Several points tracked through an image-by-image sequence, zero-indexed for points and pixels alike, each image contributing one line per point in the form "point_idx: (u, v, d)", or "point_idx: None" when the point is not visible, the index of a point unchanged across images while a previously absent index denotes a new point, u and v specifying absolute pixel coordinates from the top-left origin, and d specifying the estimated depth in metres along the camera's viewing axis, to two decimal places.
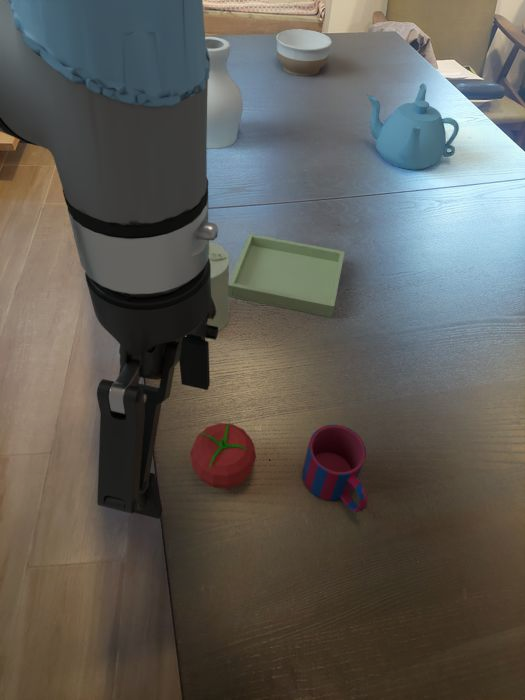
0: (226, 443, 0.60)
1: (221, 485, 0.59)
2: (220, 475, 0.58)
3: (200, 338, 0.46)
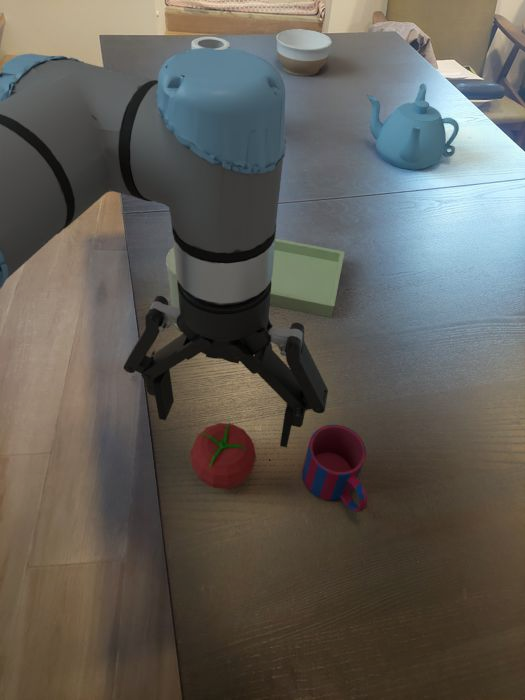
0: (226, 443, 0.60)
1: (221, 485, 0.59)
2: (220, 475, 0.58)
3: None
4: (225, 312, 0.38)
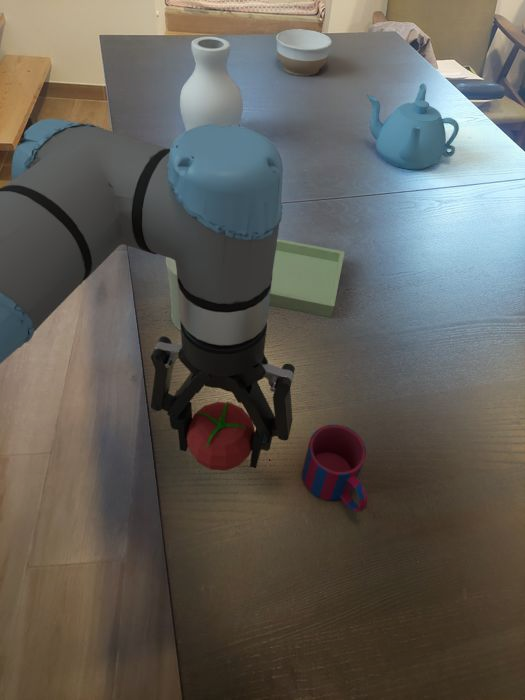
0: (224, 422, 0.57)
1: (219, 466, 0.56)
2: (217, 455, 0.55)
3: None
4: (224, 352, 0.42)
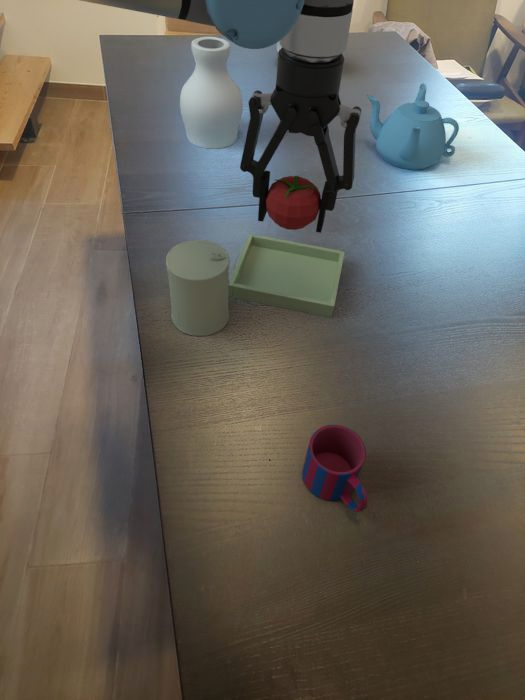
0: (297, 186, 0.70)
1: (293, 219, 0.69)
2: (293, 206, 0.68)
3: (264, 170, 0.70)
4: (315, 68, 0.55)
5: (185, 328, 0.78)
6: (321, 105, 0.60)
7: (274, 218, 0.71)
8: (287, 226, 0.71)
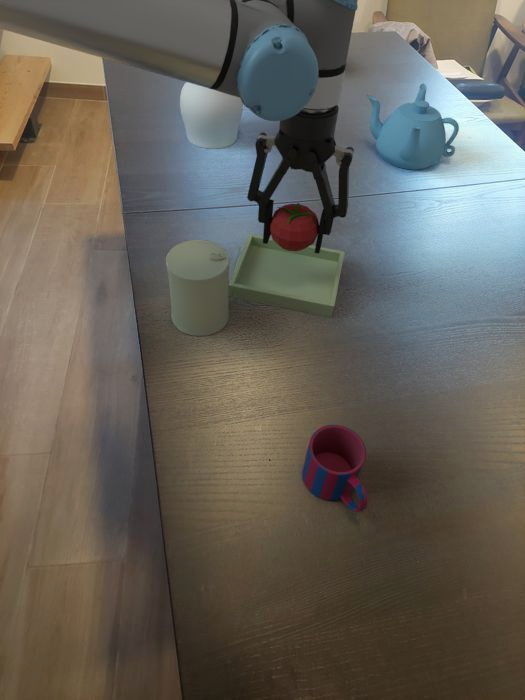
0: (298, 213, 0.79)
1: (295, 243, 0.78)
2: (295, 231, 0.77)
3: (269, 199, 0.79)
4: (313, 118, 0.64)
5: (185, 328, 0.78)
6: (319, 146, 0.69)
7: (277, 241, 0.80)
8: (289, 248, 0.80)
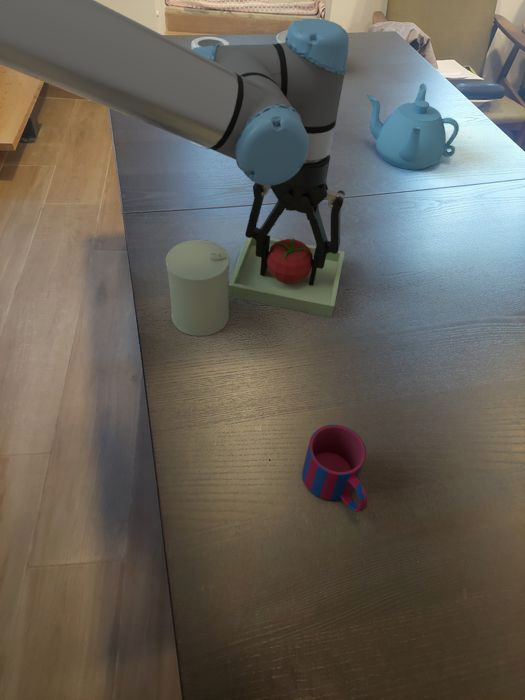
0: (293, 248, 0.84)
1: (290, 276, 0.84)
2: (290, 266, 0.82)
3: (266, 236, 0.84)
4: (306, 168, 0.69)
5: (185, 328, 0.78)
6: (312, 191, 0.74)
7: (274, 275, 0.85)
8: (285, 281, 0.85)
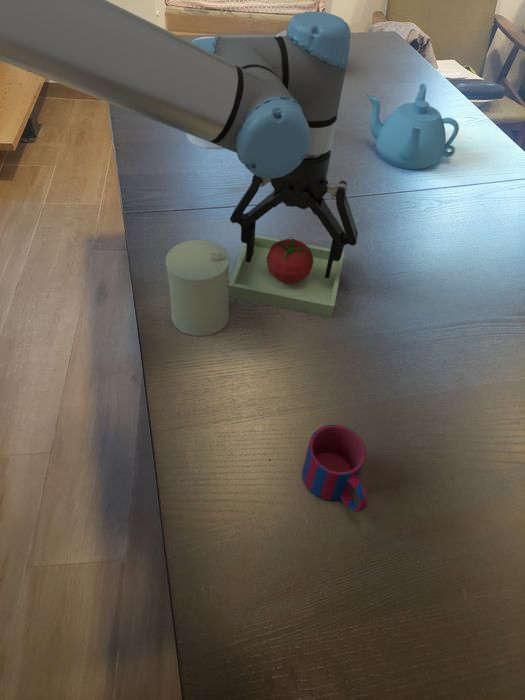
0: (293, 248, 0.84)
1: (290, 276, 0.84)
2: (290, 266, 0.82)
3: None
4: (307, 163, 0.69)
5: (185, 328, 0.78)
6: (311, 188, 0.74)
7: (274, 275, 0.85)
8: (285, 281, 0.85)
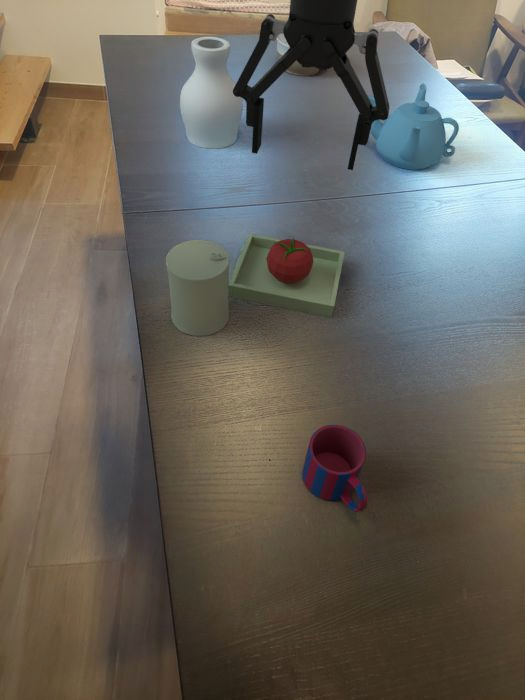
0: (293, 248, 0.84)
1: (290, 276, 0.84)
2: (290, 266, 0.82)
3: (257, 98, 0.68)
4: None
5: (185, 328, 0.78)
6: (334, 38, 0.59)
7: (274, 275, 0.85)
8: (285, 281, 0.85)
